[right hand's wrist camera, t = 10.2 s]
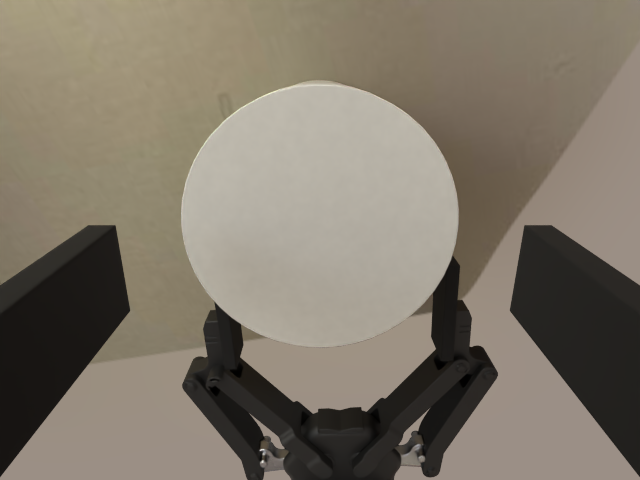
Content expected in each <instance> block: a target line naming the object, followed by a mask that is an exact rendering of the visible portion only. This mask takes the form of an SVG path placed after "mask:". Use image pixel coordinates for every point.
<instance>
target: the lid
mask: <svg viewBox="0 0 640 480" xmlns="http://www.w3.org/2000/svg"><path fill="white" fill-rule="evenodd" d="M181 223H182V234H183V239H184V244H185V249H186V252H187V255H188V258H189V260H190V263H191V266H192V268H193V270H194V272H195V274H196V276H197V278H198V280H199V281H200V283H201V284H202V286H203V287H204V289H205V290H206V292H207V293H208V295H209V296H210V297H211V298H212V299H213V300H214V301H215V302H216V304H217V305H218V306H219V307H220V308H221V309H222V310H224V311H225V312H226V313H227V314H228V315H229V316H230V317H231V318H233V319H234V320H236V321H237V322H239V323H240V324H242V325H243V326H244V327H246V328H248V329H250V330H252V331H254V332H256V333H257V334H259V335H262V336H264V337H267V338H270V339H272V340H275V341H278V342H282V343H286V344H290V345H296V346H303V347H318V348H325V347H339V346H344V345H349V344H355V343H358V342H361V341H365V340H368V339H371V338H373V337H375V336H378V335H380V334H382V333H385V332H387V331H388V330H390V329H392V328H393V327H395V326H397V325H399V324H400V323H402V322H403V321H404V320H405V319H407V318H408V317H409V316H411V315H412V314H413V313H414V312H415V311H416V310H417V309H419V308H420V307H421V306H422V305H423V304H424V303H425V302H426V300H427V299H428V298H429V297H430V295H431V294H432V293H433V292H434V290H435V289H436V287H437V286H438V284H439V283H440V281H441V279H442V278H443V276H444V274H445V272H446V270H447V268H448V265H449V263H450V261H451V258H452V255H453V251H454V248H455V245H456V239H457V233H458V223H459V208H458V199H457V192H456V188H455V184H454V180H453V177H452V174H451V171H450V169H449V167H448V164H447V162H446V160H445V158H444V156H443V154H442V153H441V151H440V149H439V148H438V146H437V144H436V143H435V142H434V140H433V139H432V138H431V137H430V135H429V134H428V133H427V132H426V131H425V129H424V128H423V127H422V126H421V125H420V124H418V123H417V122H416V121H415V120H414V119H413V118H412V117H411V116H410V115H408V114H407V113H405V112H404V111H403V110H401V109H400V108H398V107H397V106H395V105H394V104H392V103H390V102H388V101H386V100H384V99H382V98H380V97H378V96H376V95H374V94H372V93H370V92H367V91H364V90H361V89H358V88H355V87H351V86H345V85H340V84H334V83H309V84H298V85H294V86H290V87H286V88H282V89H279V90H276V91H274V92H271V93H268V94H266V95H263V96H261V97H259V98H257V99H256V100H254V101H252V102H250V103H248V104H247V105H245V106H243V107H241V108H240V109H239V110H237V111H236V112H235V113H233V114H232V115H231V116H229V117H228V118H227V119H226V120H224V121H223V122H222V123H221V125H220V126H219V127H218V128H217V129H216V130H215V131H214V132H213V133H212V134H211V135H210V137H209V138H208V139H207V141H206V142H205V143H204V145H203V146H202V147H201V149H200V151H199V153H198V154H197V156H196V158H195V160H194V162H193V164H192V166H191V169H190V172H189V174H188V177H187V180H186V183H185V188H184V193H183V198H182V210H181Z"/></svg>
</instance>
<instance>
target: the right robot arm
mask: <svg viewBox="0 0 640 480" xmlns="http://www.w3.org/2000/svg"><path fill="white" fill-rule="evenodd" d="M510 311H511V313H512V314H513V315H514V317H515V318H516V319H517V320H518V322H519V323H520V324H521V326H522V327H523V328H524V329H525V331H526V332H527V333H528V335H529V336H530V337H531V338H532V340H533V341H534V342H535V343H536V345H537V346H538V347H539V349H540V350H541V351H542V352H543V354H544V355H545V356H546V358H547V359H548V360H549V361H550V363H551V364H552V365H553V366H554V368H555V369H556V370H557V372H558V373H559V374H560V375H561V377H562V378H563V379H564V381H565V382H566V383H567V384H568V386H569V387H570V388H571V390H572V391H573V392H574V393H575V395H576V396H577V397H578V399H579V400H580V401H581V402H582V404H583V405H584V406H585V407H586V409H587V410H588V411H589V413H590V414H591V415H592V416H593V418H594V419H595V420H596V422H597V423H598V424H599V425H600V427H601V428H602V429H603V430H604V432H605V433H606V434H607V436H608V437H609V438H610V439H611V441H612V442H613V443H614V445H615V446H616V447H617V448H618V450H619V451H620V452H621V454H622V455H623V456H624V457H625V459H626V460H627V461H628V462H629V464H630V465H631V466H632V468H633V469H634V470H635V471H636V473H637V474H638V475H639V476H640V285H638V284H637V283H635V282H634V281H632V280H631V279H629V278H628V277H627V276H625V275H624V274H622V273H621V272H619V271H618V270H616V269H615V268H613V267H612V266H610V265H609V264H607V263H606V262H605V261H603V260H602V259H600V258H599V257H597V256H596V255H594V254H593V253H591V252H590V251H588V250H587V249H585V248H584V247H582V246H581V245H580V244H578V243H577V242H575V241H574V240H572V239H571V238H569V237H568V236H566V235H565V234H563V233H562V232H560V231H559V230H557V229H556V228H555V227H553V226H551V225H525V226H524V231H523V237H522V243H521V249H520V255H519V260H518V266H517V272H516V278H515V284H514V290H513V295H512V301H511V307H510ZM129 312H130V307H129V301H128V295H127V290H126V284H125V278H124V272H123V266H122V260H121V255H120V249H119V243H118V237H117V231H116V226H115V225H88V226H87V227H85V228H84V229H82V230H81V231H80V232H78V233H77V234H75V235H74V236H72V237H71V238H69V239H68V240H66V241H65V242H63V243H62V244H60V245H59V246H58V247H56V248H55V249H53V250H52V251H50V252H49V253H47V254H46V255H44V256H43V257H41V258H40V259H38V260H37V261H35V262H34V263H33V264H31V265H30V266H28V267H27V268H25V269H24V270H22V271H21V272H19V273H18V274H16V275H15V276H13V277H12V278H11V279H9V280H8V281H6V282H5V283H3V284H2V285H0V477H1V475H2V474H3V473H4V471H5V470H6V469H7V468H8V466H9V465H10V464H11V462H12V461H13V460H14V459H15V457H16V456H17V455H18V454H19V452H20V451H21V450H22V448H23V447H24V446H25V444H26V443H27V442H28V441H29V439H30V438H31V437H32V436H33V434H34V433H35V432H36V430H37V429H38V428H39V427H40V425H41V424H42V423H43V422H44V420H45V419H46V418H47V416H48V415H49V414H50V413H51V411H52V410H53V409H54V407H55V406H56V405H57V404H58V402H59V401H60V400H61V399H62V397H63V396H64V395H65V393H66V392H67V391H68V390H69V388H70V387H71V386H72V384H73V383H74V382H75V381H76V379H77V378H78V377H79V375H80V374H81V373H82V372H83V370H84V369H85V368H86V367H87V365H88V364H89V363H90V361H91V360H92V359H93V358H94V356H95V355H96V354H97V352H98V351H99V350H100V349H101V347H102V346H103V345H104V344H105V342H106V341H107V340H108V338H109V337H110V336H111V335H112V333H113V332H114V331H115V329H116V328H117V327H118V326H119V324H120V323H121V322H122V320H123V319H124V318H125V317H126V315H127V314H128V313H129Z"/></svg>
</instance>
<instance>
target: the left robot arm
mask: <svg viewBox="0 0 640 480" xmlns="http://www.w3.org/2000/svg"><path fill="white" fill-rule="evenodd" d="M459 272H460V265H459V264H458V262H457V261H456V260H455V258H454V257H453V255H452V258H451V261H450V263H449V265H448V268H447V270H446V272H445V274H444V276H443V278H442V279H441V281H440V283H439V284H438V286H437V287H436V289H435V290H434V292H433V311H432V332H431V337H432V340H433V342H434V345H435V347H436V350H435V351H434V352H433V353H432V354H431V355H430V356H429V357H428V358H427V359H426V360H425V361H424V362H423V363H422V364H421V365H420V366H419V367H418V368H416V370H415V371H414V372H412V373H411V374H410V375H409V376H408V377H407V378H406V379H405V380H404V381H403V382H402V383H401V384H400V385H399V386H398V387H397V388H396V389H395V390H394V391H393V392H392V393H391V394H390V395H389V396H388V397H387V398H386V399H384V398H381V399H379V400H378V401H377V402H376V403H375V404H374V405H373V406H372V407H371V408H370V409H369V410H368V411H367V412H365V411H362V410H361V407H355V408H348V409H344V410H335V409H318V412H317V413H315V414H312V413H311V412H310V411H309V410H308V409H307V408H305V407H304V406H303V405H302V404H301V403H299V402H298V401H296V402H292V401H291V400H290V399H289V398H288V397H286V396H285V395H284V394H283V393H282V392H280V391H279V390H278V389H277V388H276V387H274V386H273V385H272V384H271V383H270V382H269V381H267V380H266V379H265V378H264V377H263V376H261V375H260V374H259V373H258V372H257V371H256V370H254V369H253V368H252V367H251V366H250V365H248V364H247V363H246V362H245V361H244V360H243V359H241V358H240V355H241V351H242V348H243V338H242V330H241V324H240V323H239V322H237V321H236V320H234V319H233V318H231V317H230V316H229V315H228V314H227V313H226V312H225V311H224V310H222V309H221V308H220V307H219V306H218V305H217V304H216V302H215V308H216V310H210V312H209V315H208V317H207V319H206V321H205V324H204V328H203V331H204V336H205V342H206V349H207V355H208V357H206V358H204V357H196V358H194V359H193V361H192V363H191V366H190V368H189V370H188V373H187V375H186V377H185V380H184V382H183V384H182V387H183V389H184V391H185V392H186V393H187V395H188V396H189V397H190V398H191V399H192V401H193V402H194V403H195V404H196V406H197V407H198V408H199V409H200V410H201V412H202V413H203V414H204V415H205V417H206V418H207V419H208V420H209V421H210V423H211V424H212V425H213V426H214V427H215V429H216V430H217V431H218V432H219V434H220V435H221V436H222V437H223V438H224V440H225V441H226V442H227V443H228V445H229V446H230V447H231V448H232V449H233V451H234V452H235V453H236V454H237V455H238V457H239V458H240V459H241V460H242V464H243V467H244V470H245V474H246V477H247V479H248V480H263V477H264V472H267V471H275V470H283V469H284V470H285V471H286V473H287V474H288V475H289V476H290V478H291V480H394V476H395V473H396V472H397V470H398V469H399V468H400V466H418V467H421V468H422V471H423V474H424V475H425V476H426V477H435V476H437V475H438V474H439V472H440V468H441V463H442V458H443V454H444V452H445V451H446V449H447V448H448V446H449V445H450V444H451V442H452V441H453V439H454V438H455V436H456V435H457V434H458V432H459V431H460V429H461V428H462V427H463V425H464V424H465V422H466V421H467V420H468V418H469V417H470V415H471V414H472V412H473V411H474V410H475V408H476V407H477V405H478V404H479V403H480V401H481V400H482V398H483V397H484V395H485V394H486V393H487V391H488V390H489V388H490V387H491V386H492V384H493V383H494V381H495V380H496V378H497V376H498V372H497V370H496V369H495V367H494V365H493V363H492V362H491V360H490V358H489V357H488V355H487V353H486V352H485V350H484V348H483V347H481V346H473V347H469V345H470V331H471V321H472V318H471V315H470V312H469V310H468V309H467V307H466V305H465V304H464V302H463V300H458V286H459ZM430 407H431V408H430ZM429 408H430V409H429ZM428 409H429V411H428V412H427V414H426V415H425V417H424V419H423V420H422V422H421V424H420V427H419V431H413V432H412V433H411V435H412V437H411V438H410V440H409V441H408V443H406V444H405V445H398V444H399V443H400V442H401V440H402V438H403V434H404V432H405V431H406V430H407V429H408V428H409V427H410V426H411V425H412V424H413V423H414V422H415V421H416V420H417V419H419V418H420V417H421V416H422V415H423V414H424V413H425V412H426V411H427V410H428ZM248 412H249V413H250V414H251V415H252V416H254V417H255V418H256V419H257V420H259V421H260V422H261V423H262V424H264V425H265V426H266V427H267V428H269V429H270V430H271V431H272V432H274V433H275V434H276V435H277V436H278V437H279V438H280V441H281V444H282V445H283V446H284V448H285V449H278V448H276V447H275V446H274V445H273V443H272V442H271V438H270V437H269V436H263V433H262V431H261V429H260V427H259V426H258V424H257V423H256V422H255V420H254V419H253V418H252V416H251V415H250V414H249V413H248Z"/></svg>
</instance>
